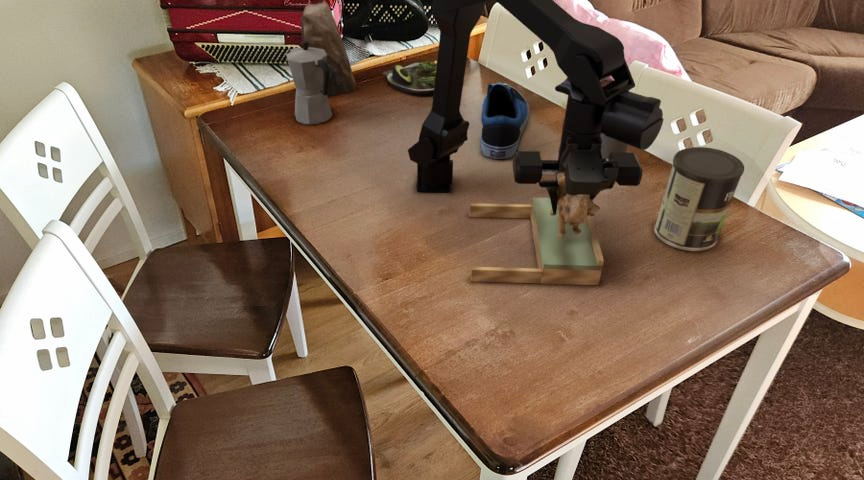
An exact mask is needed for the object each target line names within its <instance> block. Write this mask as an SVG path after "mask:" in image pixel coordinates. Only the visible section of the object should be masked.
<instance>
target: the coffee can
mask: <svg viewBox="0 0 864 480" xmlns="http://www.w3.org/2000/svg"><path fill="white" fill-rule="evenodd" d="M744 172H745V164H744V163H743V161H741V159H740V158H738V157H737V156H735V155H733V154H732V153H729V152H727V151H724V150H721V149H717V148H712V147H705V146H693V147H692V146H691V147H686V148H683V149H681V150H680V149H679V151H677V152H676V153H675V154H674V156H673V159H672V166H671V170H670V173H669V176H668V179H667V183H666V187H665V190H664V194H663V197H662V201H661V205H660V208H659V211H658V215H657V219H656V222H655V224H654V226H653V230H654V234H655V236H656V237H657V239H659V240H660V241H662V242H663V243H664V244H666V245H668V246H670V247H672V248H674V249H678V250H681V251H687V252H702V251H707V250H710V249H712V248H713V247H715V246H716V245H717V243H718V241H719V236H720V234H721V230H722V228H723V226H724V222H725V220H726V217H727V215H728V213H729V209H730V208H731V207H730V206H731V204H732V201H733V200H734V196H735V193H736V190H737V188H738V185H739V183H740V180H741V177H742V176H743V174H744Z"/></svg>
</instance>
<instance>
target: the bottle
mask: <svg viewBox="0 0 864 480" xmlns="http://www.w3.org/2000/svg"><path fill="white" fill-rule="evenodd" d="M601 139H602V147H601V154H602V159H608V157H609V154H610V153H611V152H627V150H628V146H629V145H628V144H625V143H623V142H620V141H617V140H614V139H612V138H609V137H606V136H605V134H602V138H601Z"/></svg>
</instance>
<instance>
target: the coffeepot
mask: <svg viewBox="0 0 864 480" xmlns="http://www.w3.org/2000/svg"><path fill="white" fill-rule="evenodd" d="M300 43H301V46H302V47H293V48H292V49H291V48H290V49H289V52H288V53H286V54H285V56H286V60H287V63H288V66H289V70H290V74H291V78H292V80H293V84H294V86H295V96H294V97H295V99H294V117H295V119H296V122H298V123H300V124H302V125H309V126H310V125H320V124H323V123H326V122H327V121H329V120H330V119H331V118H332V117H333V112H332V109H331V104H330V101H329V96H327V93H328V86H329V76H330V69H329V66H328V64H327V62H326V60H327V54H326V52H325V51H324V49H319V48H313V47H308V41H303V40H302V41H301V42H300Z"/></svg>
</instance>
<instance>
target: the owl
mask: <svg viewBox="0 0 864 480" xmlns="http://www.w3.org/2000/svg"><path fill="white" fill-rule="evenodd" d="M299 21H300V23H301V25H300V30H301V37H302V42H303V41H308V47H313V48H319V49H324V51H325V52H326V54H327V60H326V62H327V64H328V66H329V69H330V76H329V86H328V93H327V97H331V96H335V95H340V94H347V93H350V92H355V91H357V87H356V79H355V76H354V74H353V70H352V65H351V62H350V59H349V56H348V52H347V49H346V47H345V44H344V42H343V40H342V37H341V34H340V30H339V28H338V24H337V22H336V19H335V18H334V15H333V12H332V10H331V7H330V6H329V3H328V2H327V0H323V1H322V2H318V3H312V4H308V5H306V6H304V9H303V11H302V15H301V18H300V20H299Z"/></svg>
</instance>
